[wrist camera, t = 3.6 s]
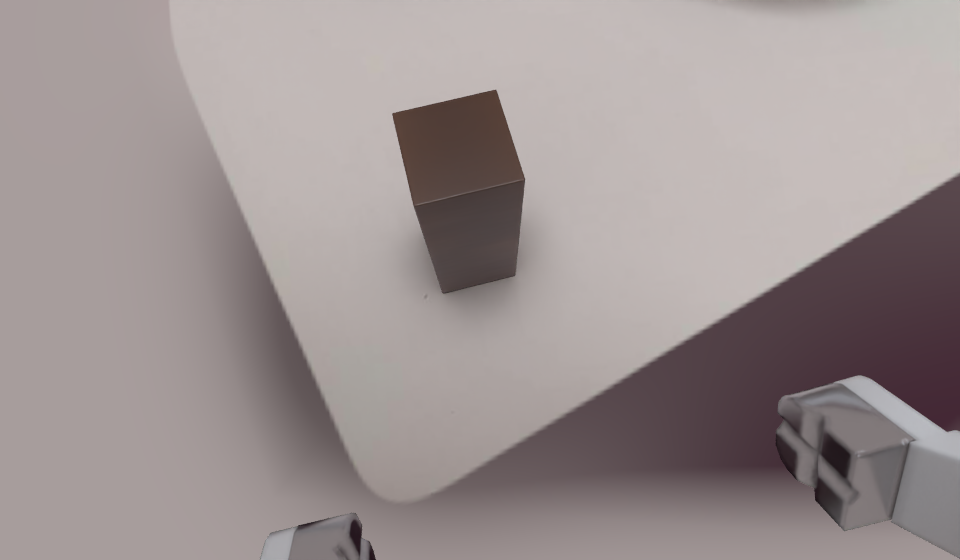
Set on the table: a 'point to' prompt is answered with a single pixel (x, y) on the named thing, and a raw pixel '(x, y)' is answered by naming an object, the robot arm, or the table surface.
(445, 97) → the table surface
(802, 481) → the robot arm
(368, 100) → the table surface
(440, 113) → the block
